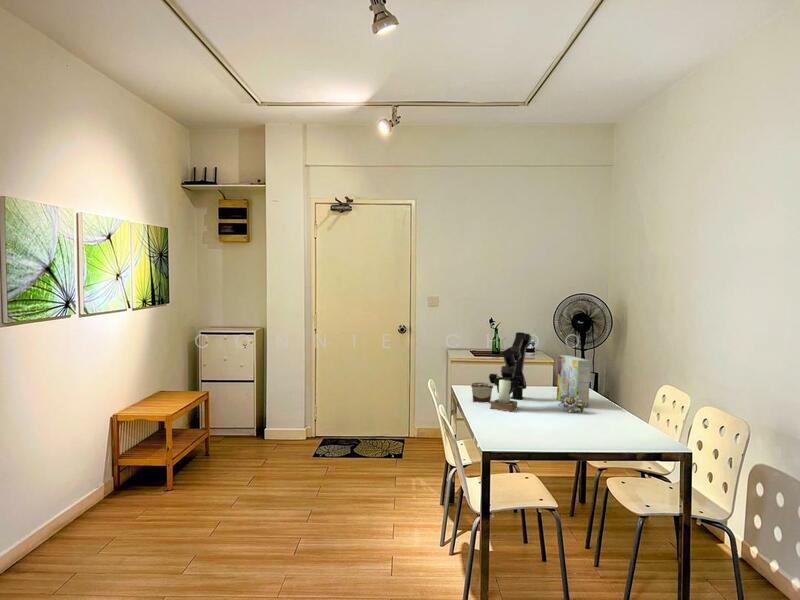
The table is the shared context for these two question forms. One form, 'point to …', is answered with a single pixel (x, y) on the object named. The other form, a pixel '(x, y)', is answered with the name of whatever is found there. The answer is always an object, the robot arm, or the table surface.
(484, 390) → the food container
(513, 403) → the holder
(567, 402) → the passion flower
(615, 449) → the table surface
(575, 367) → the snack box
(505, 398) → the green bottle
